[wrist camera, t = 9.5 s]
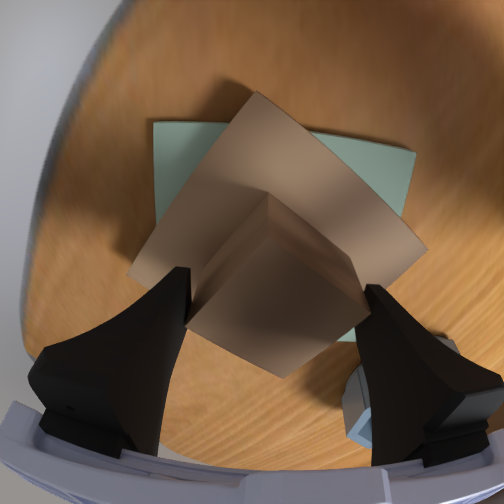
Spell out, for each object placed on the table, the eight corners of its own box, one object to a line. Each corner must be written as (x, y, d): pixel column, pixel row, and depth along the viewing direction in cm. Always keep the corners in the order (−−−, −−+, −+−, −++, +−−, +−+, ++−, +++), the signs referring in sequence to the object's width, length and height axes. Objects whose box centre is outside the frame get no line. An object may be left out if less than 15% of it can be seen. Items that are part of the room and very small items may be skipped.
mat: (411, 150, 13) (416, 152, 12) (354, 335, 19) (356, 341, 19) (157, 120, 13) (153, 122, 12) (168, 319, 19) (166, 326, 19)
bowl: (476, 333, 19) (496, 370, 16) (424, 405, 24) (434, 438, 21) (368, 335, 19) (382, 383, 16) (330, 412, 24) (334, 451, 21)
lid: (420, 240, 15) (464, 299, 10) (284, 355, 19) (286, 421, 15) (256, 90, 12) (250, 93, 7) (132, 264, 16) (95, 326, 12)
